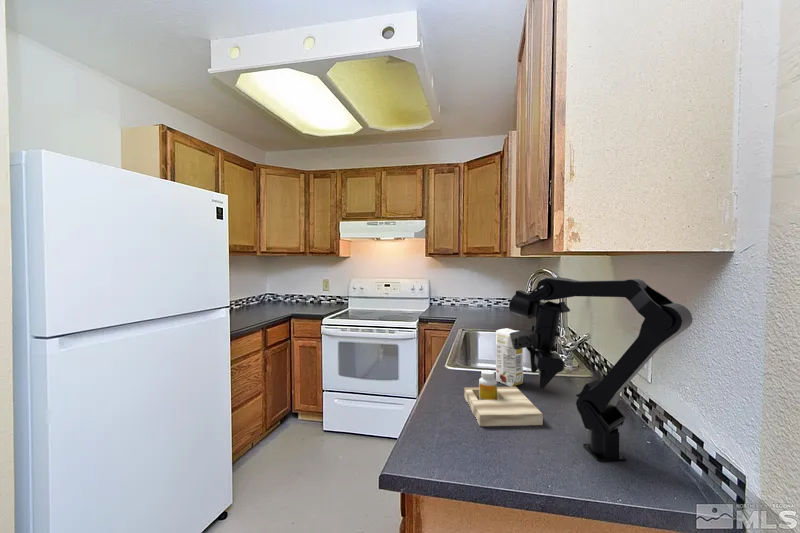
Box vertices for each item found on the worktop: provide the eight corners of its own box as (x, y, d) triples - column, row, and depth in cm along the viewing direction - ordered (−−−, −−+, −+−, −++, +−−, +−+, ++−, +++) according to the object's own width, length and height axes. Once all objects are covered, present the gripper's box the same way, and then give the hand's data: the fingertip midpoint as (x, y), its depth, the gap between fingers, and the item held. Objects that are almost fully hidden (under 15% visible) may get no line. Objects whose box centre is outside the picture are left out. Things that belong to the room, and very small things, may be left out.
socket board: (542, 424, 93) (542, 413, 93) (480, 426, 93) (480, 415, 93) (515, 395, 113) (515, 386, 113) (464, 396, 113) (464, 387, 113)
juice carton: (512, 388, 120) (512, 333, 119) (492, 381, 127) (492, 329, 127) (525, 384, 124) (526, 331, 124) (506, 377, 131) (506, 327, 131)
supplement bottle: (498, 407, 104) (498, 375, 104) (480, 406, 105) (480, 374, 104) (495, 400, 109) (495, 369, 109) (478, 399, 110) (478, 368, 110)
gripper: (509, 310, 101) (501, 360, 104) (521, 331, 83) (511, 392, 85) (549, 315, 99) (540, 366, 102) (570, 338, 81) (559, 399, 84)
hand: (537, 379), depth 93 cm, fingers open, 9 cm apart
